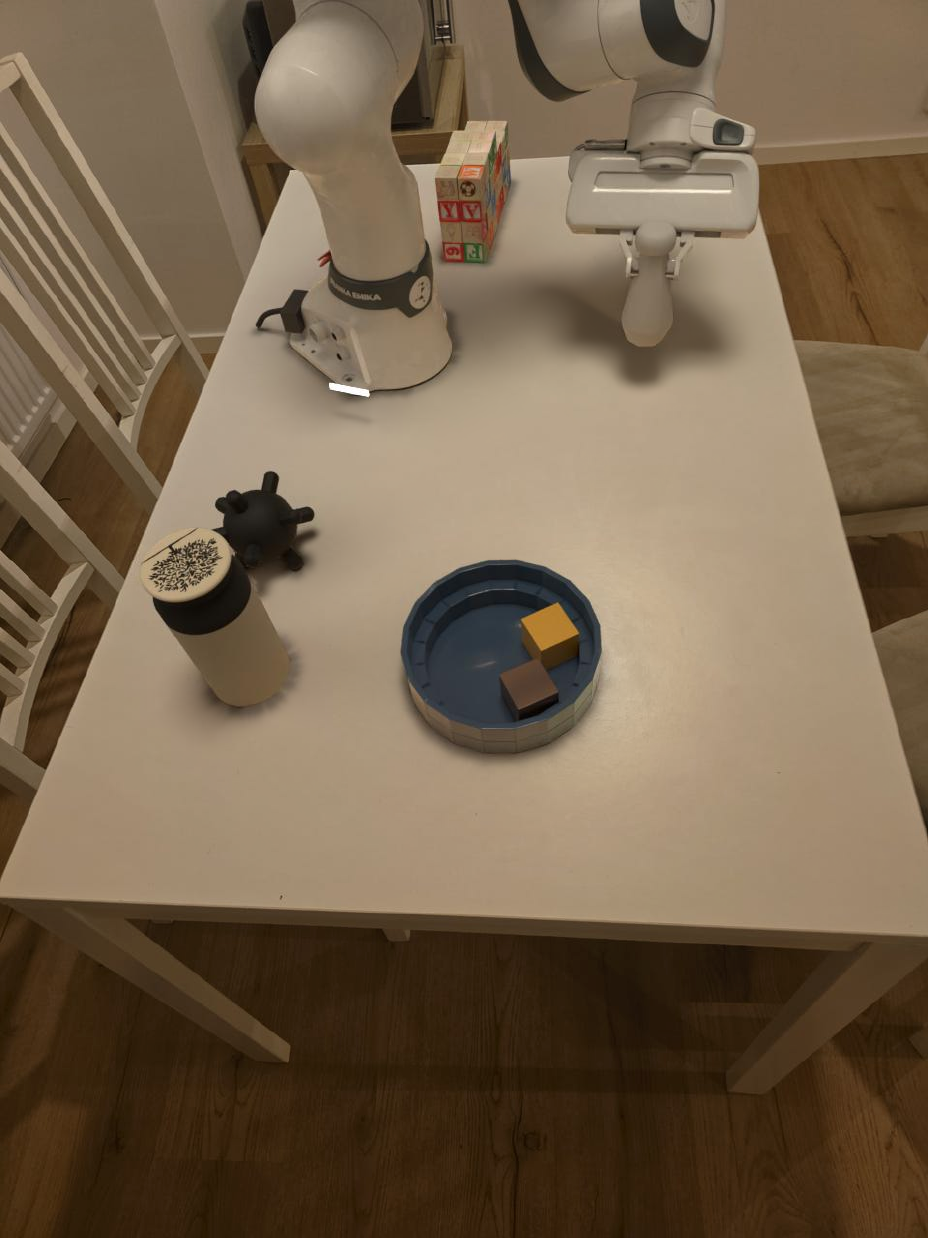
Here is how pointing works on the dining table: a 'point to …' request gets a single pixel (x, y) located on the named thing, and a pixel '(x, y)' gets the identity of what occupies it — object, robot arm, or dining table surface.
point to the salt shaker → (650, 287)
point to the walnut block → (528, 690)
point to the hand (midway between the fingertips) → (651, 278)
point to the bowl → (494, 654)
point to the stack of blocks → (473, 189)
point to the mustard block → (550, 636)
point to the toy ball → (261, 524)
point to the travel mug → (216, 615)
